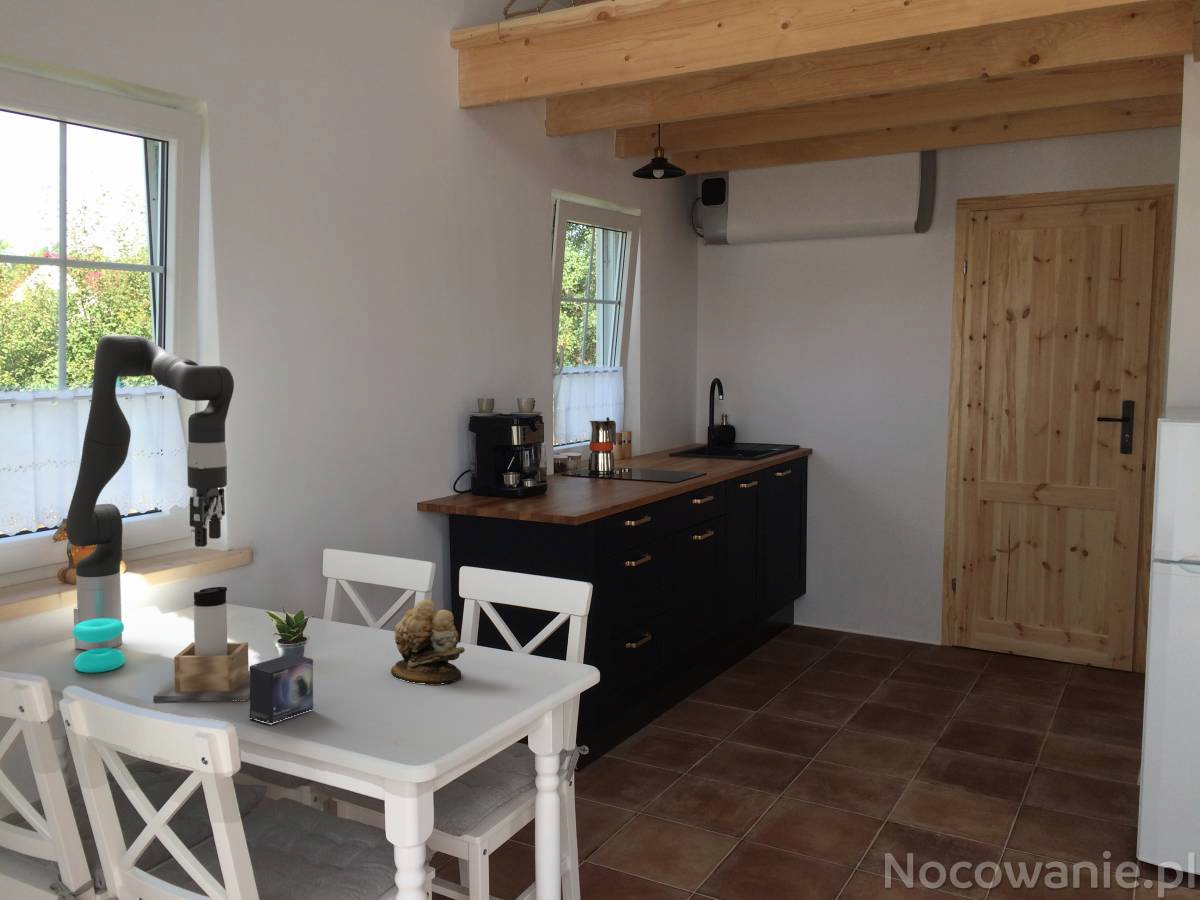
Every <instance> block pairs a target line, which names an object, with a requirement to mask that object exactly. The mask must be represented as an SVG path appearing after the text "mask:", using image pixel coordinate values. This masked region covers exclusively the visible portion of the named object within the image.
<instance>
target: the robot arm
mask: <svg viewBox="0 0 1200 900" xmlns="http://www.w3.org/2000/svg"><path fill="white" fill-rule="evenodd" d="M93 366H94V368H93V379H92V381H93V382H92V395H91V401H90V407H89V413H88V418H87V423H86V428H85V433H84V438H83V444H82V450H81V451H82V453H81V458H80V463H79V469H78V470H79V471H78V475H77V479H76V484H75V487H74V491H73V495H72V499H71V500H70V501H71V502H70V505H69V509H68V510H67V511H68V512H67V515H66V521H65V522H66V523H65V532H66V537H67V540H68V541H69V543H70V544H71V545H72V546H74V547H89V546H96V547H95V549H94V551H92V552H91V553H90V554H89V555H88V556H86V557H83V558H82V559H80V560H79V561H78V562H76V564H75V575H76V576H75V579H76V580H75V581H76V606H75V607H73V628H74V627H75V626H76V625H77V624H79V623H81V622H83V621H87V620H92V619H101V618H111V619H117V620H119V621H121V622H122V596H121V595H122V593H121V591H122V590H121V563H122V559H123V530H124V529H123V527H124V526H123V518H122V514H121V511H120V509H119V508H118V507H117V506H116V505H115V504H112V503H102V504H97V503H98V499H99V496H100V494H101V493H102V491H103V490H104V488H105V487H106V486H107V485H108V483H109V482H110V481H111V480H112V479H113V478H114V476H115V475H116V474H117V473H118V472H119V471H120V470H121V468H122V467H123V465H124V464H125V462H126V460H127V458H128V453H129V446H130V442H131V434H132V431H131V427H130V424H129V422H128V420H127V417H126V416H125V414H124V413H123V411H122V409H121V406H120V404H119V402H118V399H117V394H116V393H117V391H116V390H117V388H116V387H117V381H118V378H119V377H124V378H125V377H130V378H135V377H136V378H137V377H145V376H147V377H148V376H152V377H153V378H154V379H155V381H156V382H157V383H159V384H160V385H161V386H163V387H165V388H168V389H171V390H173V391H175V392H176V393H177V394H178V395H179V396H180V397H181V398H183V399H185V400H189V401H193V402H194V401H195V402H197V401H199V402H200V401H201V402H202V401H208V402H207V405H206V407H205V409H203V410H201V411H198V412H194V413H192V414H190V415H189V417H188V422H187V425H188V426H187V431H188V432H187V435H188V444H187V445H188V446H187V453H186V457H187V459H186V460H187V463H186V465H187V466H186V468H187V487H188V488H191V489H195V490H196V493H195V494H196V496H190V497H189V526H190V527H193V529H194V545H195V547H198V548H199V547H201V548H204V547H207V545H208V538H209V539H213V540H215V539H216V540H217V539H218V540H219V539H220V538H221V537H222V532H221V531H222V528H221V527H222V526H221V525H222V523H221V522H222V520H223V516H225V514H226V509H225V508H226V506H225V487H226V486H227V485H228V462H227V461H228V456H227V455H228V453H227V446H226V420H227V417H228V412H229V408H230V404H231V400H232V398H233V394H234V389H235V382H234V377H233V374H232V372H231V371H230V370H229V369H228V368H227V367H225V366H223V365H199V364H198V363H197V362H195V361H193V360H191V358H190V359H189V358H186V357H183V356H181V355H177V354H174V353H171V352H168V350H166V349H164V348H162V347H161V346H159V345H158V344H157V343H155V342H154V341H152V340H150V338H147V337H145V336H142V335H136V334H118V333H117V334H116V333H114V334H113V333H111V334H110V333H109V334H104V335H102V336H101V337H100V339H99V341H98V342H97V346H96V350H95V354H94V365H93ZM207 527H208V528H207ZM122 623H123V622H122ZM73 637H74V649H79V650H84V651H88V650H92V649H97V648H112V647H113V648H117V647H118V645H119V646H120V644H121V643H123V632H122V633H121V634H120V635H119V636H118V637H116V638H114V639H111V640H107V641H102V642H84V641H81V640H78V639H77V638H76V637H75V636H74V635H73ZM121 645H122V644H121Z"/></svg>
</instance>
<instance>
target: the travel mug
mask: <svg viewBox="0 0 1200 900" xmlns="http://www.w3.org/2000/svg"><path fill="white" fill-rule="evenodd" d="M227 591H228V587H227V586H213V587H207V588H203V589H199V591H194V592H193V600H194V601H193V628H194V629H193V631H194V635H193V637H194V638H193V639H194V643H195V656H228V652H227V642H228V616H227V615H228V613H227V612H228V611H227V609H228V608H227V607H228V606H227Z"/></svg>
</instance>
